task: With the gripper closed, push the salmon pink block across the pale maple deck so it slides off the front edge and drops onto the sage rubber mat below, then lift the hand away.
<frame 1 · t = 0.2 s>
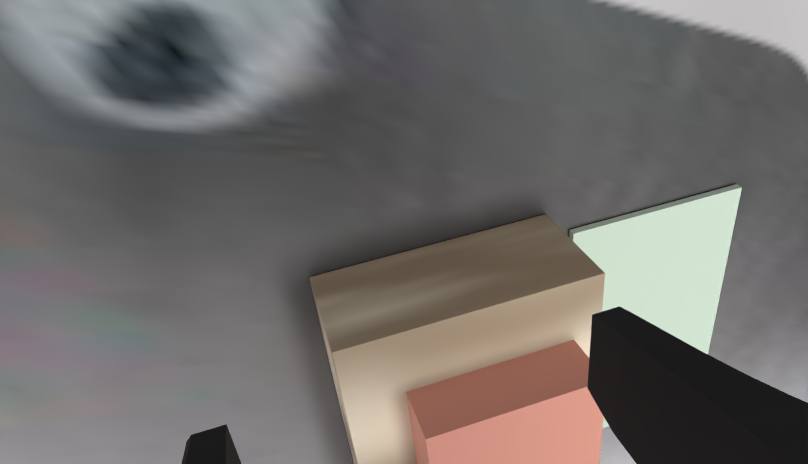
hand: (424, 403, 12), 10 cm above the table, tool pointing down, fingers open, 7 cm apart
salmon pink block: (496, 453, 23), point 4 cm above the table, touching deck
deck: (446, 382, 27), on the table
mat: (641, 321, 28), on the table
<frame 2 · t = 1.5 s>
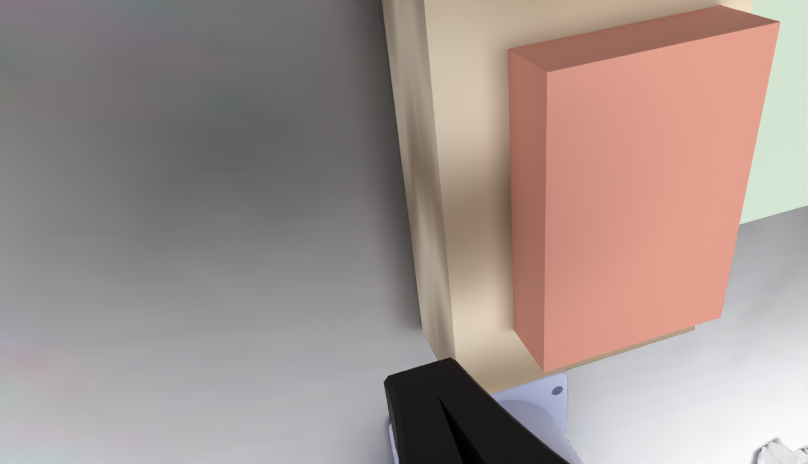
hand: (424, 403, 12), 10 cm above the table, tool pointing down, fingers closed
salmon pink block: (607, 184, 18), point 4 cm above the table, touching deck
deck: (528, 137, 22), on the table
mat: (760, 82, 23), on the table
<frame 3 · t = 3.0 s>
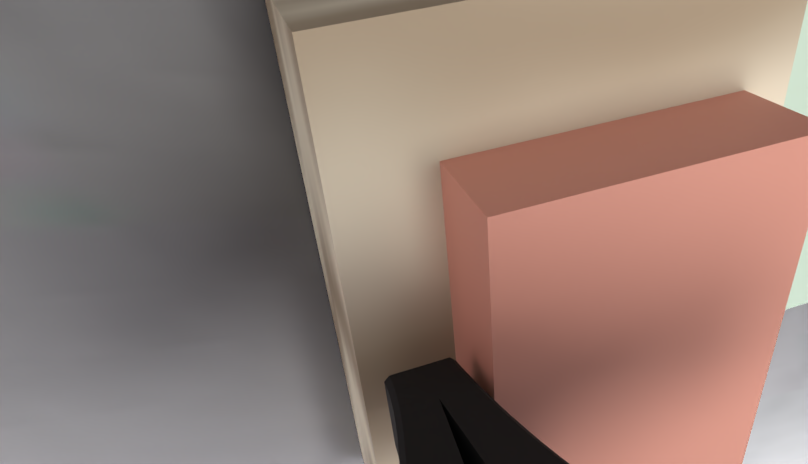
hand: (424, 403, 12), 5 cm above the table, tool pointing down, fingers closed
salmon pink block: (587, 319, 14), point 4 cm above the table, touching deck, gripper
deck: (490, 233, 17), on the table
mat: (783, 156, 19), on the table
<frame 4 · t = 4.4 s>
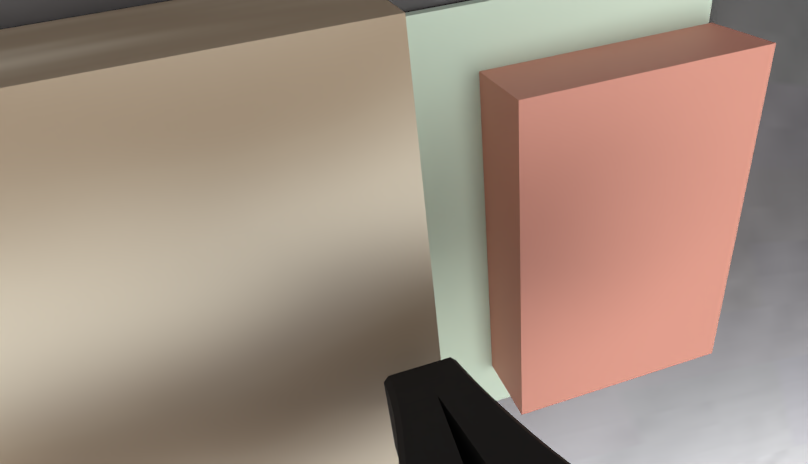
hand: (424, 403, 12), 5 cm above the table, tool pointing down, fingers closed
salmon pink block: (633, 251, 15), point 2 cm above the table, tilted 180°, touching mat
deck: (210, 306, 15), on the table
mat: (556, 215, 17), on the table
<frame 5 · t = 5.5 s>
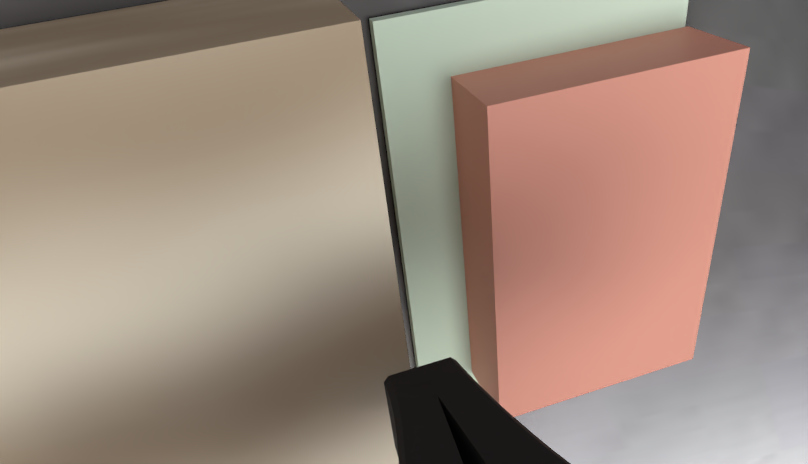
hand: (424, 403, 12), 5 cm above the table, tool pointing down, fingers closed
salmon pink block: (610, 257, 15), point 2 cm above the table, tilted 180°, touching mat
deck: (183, 313, 15), on the table
mat: (534, 221, 17), on the table
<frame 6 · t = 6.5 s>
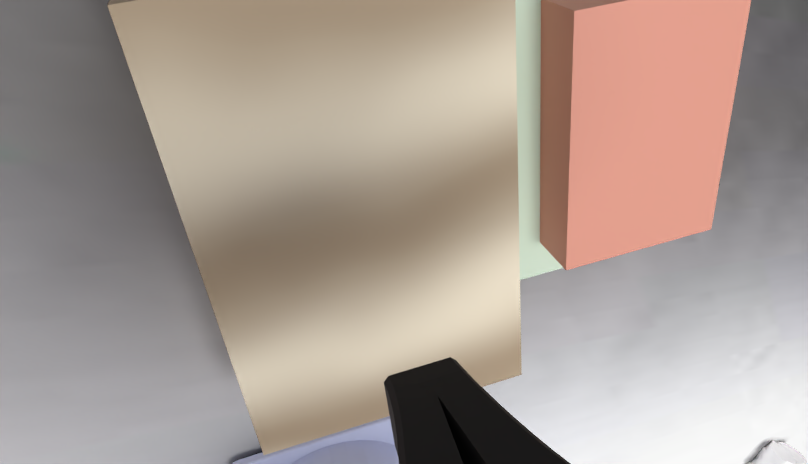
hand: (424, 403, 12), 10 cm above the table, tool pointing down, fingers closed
salmon pink block: (652, 135, 21), point 2 cm above the table, tilted 180°, touching mat
deck: (338, 177, 21), on the table
mat: (592, 118, 23), on the table
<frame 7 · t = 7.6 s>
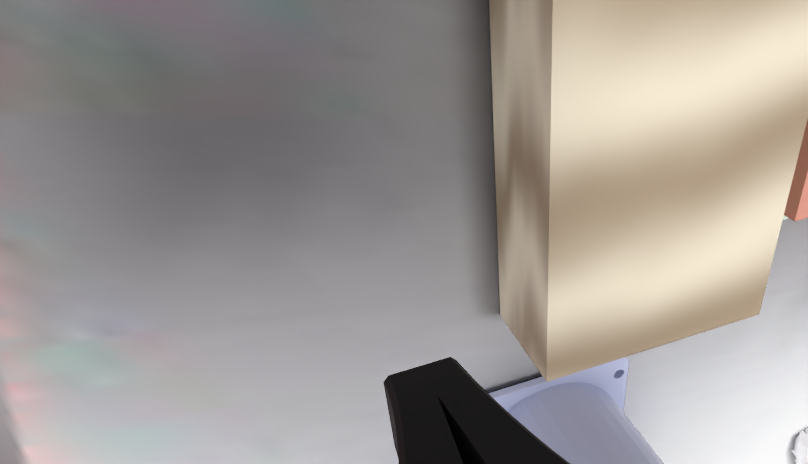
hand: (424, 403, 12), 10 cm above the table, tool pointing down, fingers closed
deck: (609, 134, 23), on the table
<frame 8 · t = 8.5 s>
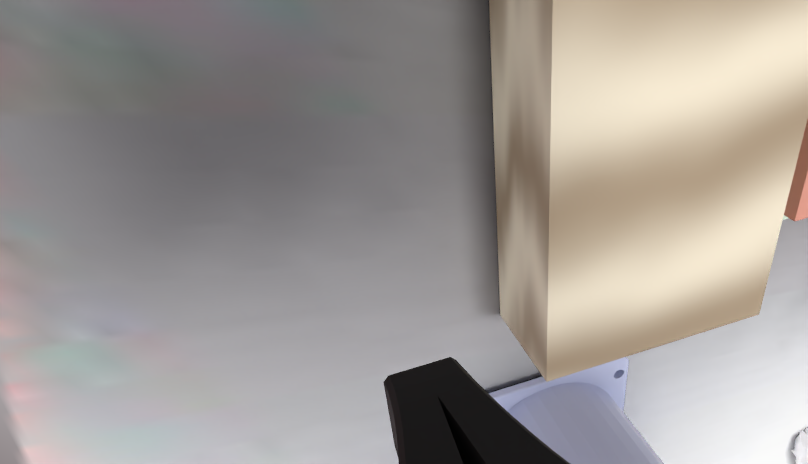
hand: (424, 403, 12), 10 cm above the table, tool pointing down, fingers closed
deck: (609, 134, 23), on the table
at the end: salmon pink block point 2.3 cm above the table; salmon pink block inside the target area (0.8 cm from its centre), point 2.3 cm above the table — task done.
